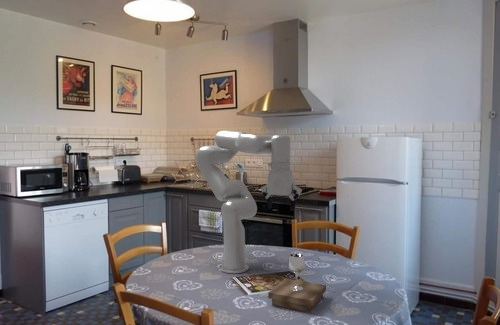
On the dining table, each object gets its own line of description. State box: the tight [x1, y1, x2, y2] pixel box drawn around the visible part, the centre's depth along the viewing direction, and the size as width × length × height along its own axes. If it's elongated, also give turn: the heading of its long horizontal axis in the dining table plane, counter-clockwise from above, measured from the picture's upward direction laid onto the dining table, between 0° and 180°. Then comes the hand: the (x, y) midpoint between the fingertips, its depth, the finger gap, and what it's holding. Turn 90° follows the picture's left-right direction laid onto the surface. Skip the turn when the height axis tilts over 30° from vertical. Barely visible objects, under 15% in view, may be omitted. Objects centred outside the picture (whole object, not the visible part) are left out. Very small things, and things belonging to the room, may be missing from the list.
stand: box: [267, 278, 327, 313], centre depth 140 cm, size 16×16×4 cm
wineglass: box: [288, 253, 306, 291], centre depth 139 cm, size 6×6×12 cm
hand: (280, 209), depth 155 cm, fingers open, 9 cm apart
